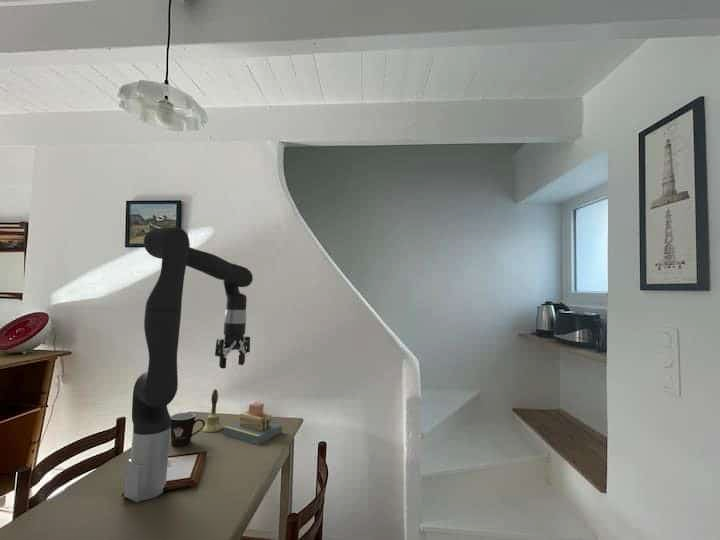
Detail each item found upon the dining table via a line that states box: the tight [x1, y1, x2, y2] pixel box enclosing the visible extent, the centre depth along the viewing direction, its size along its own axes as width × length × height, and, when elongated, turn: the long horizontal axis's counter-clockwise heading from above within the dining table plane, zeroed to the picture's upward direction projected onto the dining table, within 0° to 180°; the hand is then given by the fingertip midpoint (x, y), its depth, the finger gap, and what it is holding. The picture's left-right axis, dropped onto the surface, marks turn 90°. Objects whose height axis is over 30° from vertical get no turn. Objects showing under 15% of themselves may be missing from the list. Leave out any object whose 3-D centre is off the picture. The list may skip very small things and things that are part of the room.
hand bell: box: [201, 389, 224, 433], centre depth 148 cm, size 8×8×16 cm
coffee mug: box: [170, 411, 206, 448], centre depth 132 cm, size 12×9×10 cm
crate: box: [248, 401, 265, 416], centre depth 143 cm, size 4×4×4 cm
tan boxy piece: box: [239, 410, 272, 432], centre depth 143 cm, size 6×11×5 cm, turn 62°
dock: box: [223, 420, 283, 446], centre depth 143 cm, size 14×18×3 cm
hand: (232, 366), depth 129 cm, fingers open, 8 cm apart
